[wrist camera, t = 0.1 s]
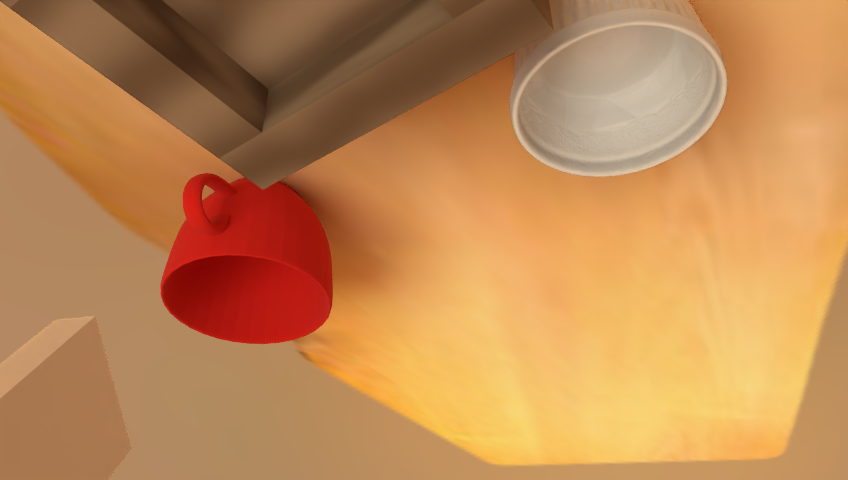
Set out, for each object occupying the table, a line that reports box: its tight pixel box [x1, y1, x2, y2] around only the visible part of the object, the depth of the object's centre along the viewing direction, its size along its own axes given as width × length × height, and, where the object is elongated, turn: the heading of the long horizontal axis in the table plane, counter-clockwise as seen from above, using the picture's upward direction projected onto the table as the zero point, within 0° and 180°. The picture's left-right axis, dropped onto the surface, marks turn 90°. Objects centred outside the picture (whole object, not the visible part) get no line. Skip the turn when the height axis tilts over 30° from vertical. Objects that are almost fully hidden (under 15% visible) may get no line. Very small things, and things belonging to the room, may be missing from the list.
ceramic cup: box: [161, 173, 333, 344], centre depth 62 cm, size 13×17×10 cm
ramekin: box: [509, 0, 728, 177], centre depth 51 cm, size 13×13×7 cm
